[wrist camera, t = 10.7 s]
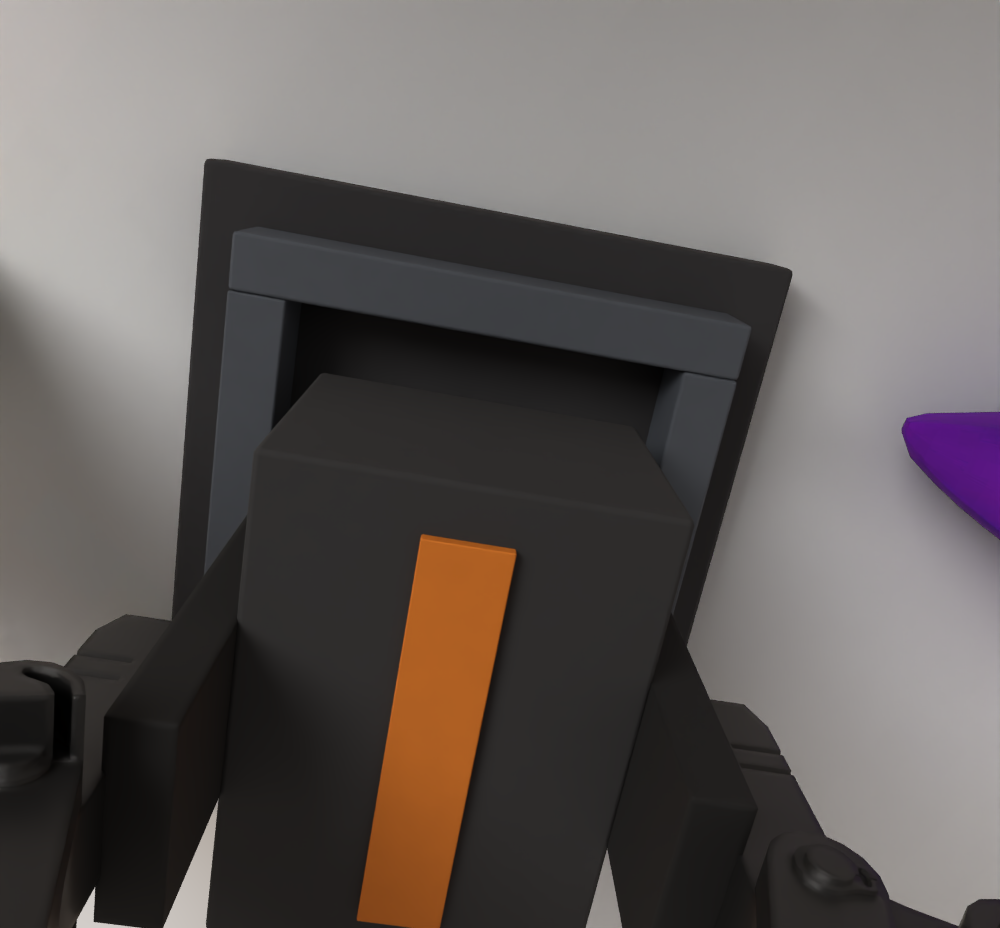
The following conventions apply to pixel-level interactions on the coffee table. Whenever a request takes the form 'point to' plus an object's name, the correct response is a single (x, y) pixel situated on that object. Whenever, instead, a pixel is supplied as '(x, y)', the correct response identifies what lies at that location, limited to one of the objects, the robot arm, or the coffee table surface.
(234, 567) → the robot arm
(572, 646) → the black block
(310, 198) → the base pad
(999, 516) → the purple long tapered piece
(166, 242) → the coffee table surface
